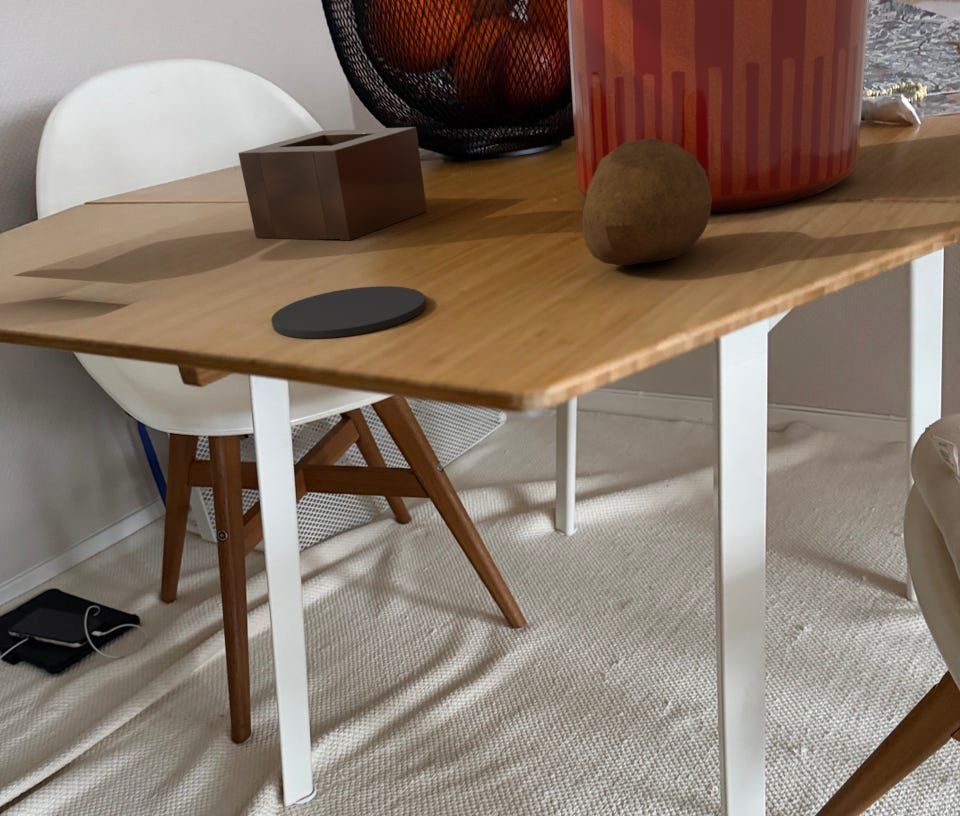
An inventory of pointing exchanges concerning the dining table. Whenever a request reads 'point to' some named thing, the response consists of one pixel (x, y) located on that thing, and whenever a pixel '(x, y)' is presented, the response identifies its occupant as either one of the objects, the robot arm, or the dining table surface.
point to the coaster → (348, 312)
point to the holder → (334, 183)
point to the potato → (645, 203)
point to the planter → (723, 89)
